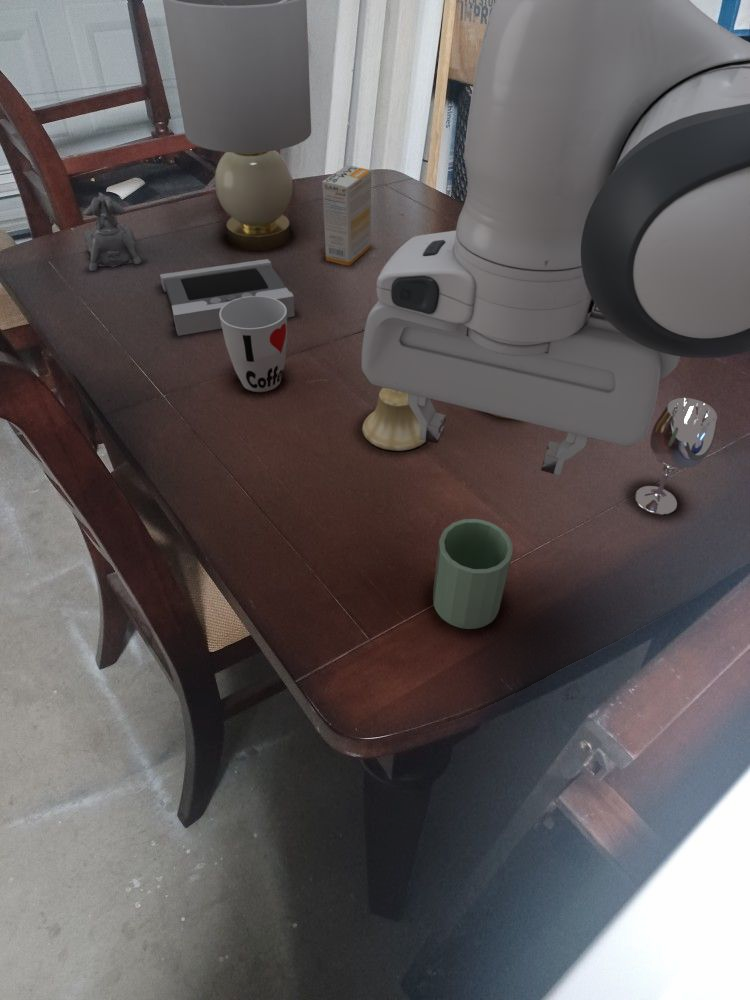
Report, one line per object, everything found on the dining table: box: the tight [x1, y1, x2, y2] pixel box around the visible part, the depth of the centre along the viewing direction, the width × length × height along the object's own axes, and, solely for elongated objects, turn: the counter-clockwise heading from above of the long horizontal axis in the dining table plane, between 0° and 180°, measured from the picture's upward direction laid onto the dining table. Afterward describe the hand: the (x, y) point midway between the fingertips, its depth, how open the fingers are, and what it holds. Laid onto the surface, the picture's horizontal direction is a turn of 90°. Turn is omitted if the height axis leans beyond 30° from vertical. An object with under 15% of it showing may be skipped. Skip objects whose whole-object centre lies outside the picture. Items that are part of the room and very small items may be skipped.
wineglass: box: [634, 397, 718, 516], centre depth 72 cm, size 6×6×12 cm
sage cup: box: [432, 518, 514, 630], centre depth 63 cm, size 6×6×8 cm
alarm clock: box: [159, 258, 296, 337], centre depth 105 cm, size 17×5×16 cm
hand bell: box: [361, 387, 427, 452], centre depth 79 cm, size 8×8×16 cm
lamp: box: [162, 0, 312, 252], centre depth 110 cm, size 20×20×35 cm
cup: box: [219, 296, 288, 393], centre depth 88 cm, size 8×8×10 cm
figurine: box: [82, 191, 143, 272], centre depth 113 cm, size 8×10×11 cm
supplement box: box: [321, 164, 372, 267], centre depth 114 cm, size 8×5×13 cm, turn 153°
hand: (490, 452), depth 53 cm, fingers open, 8 cm apart
